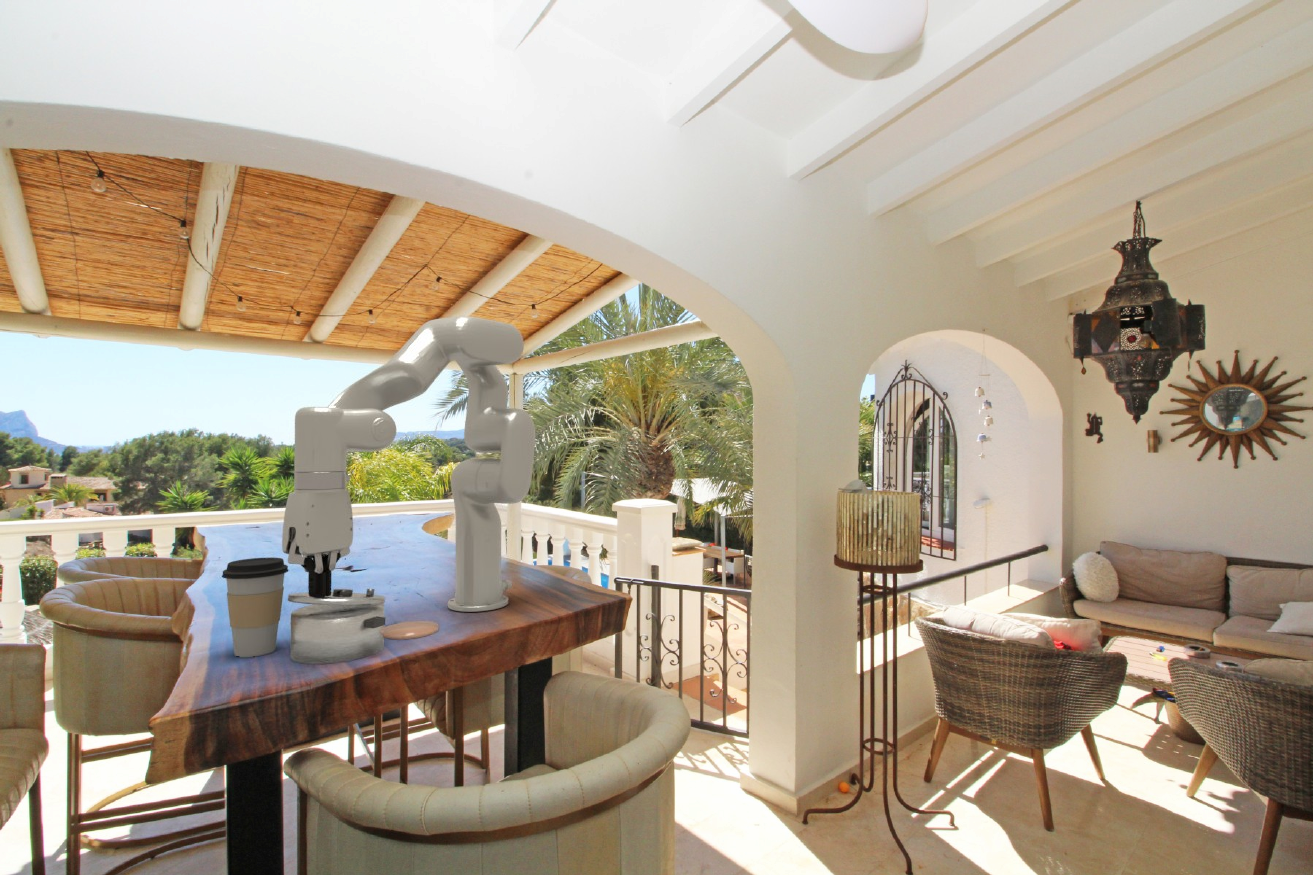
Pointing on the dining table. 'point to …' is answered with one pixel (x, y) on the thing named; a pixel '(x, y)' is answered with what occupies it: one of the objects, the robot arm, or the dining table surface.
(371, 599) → the lid
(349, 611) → the pot
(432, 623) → the coaster
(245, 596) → the coffee cup
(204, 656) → the dining table surface
